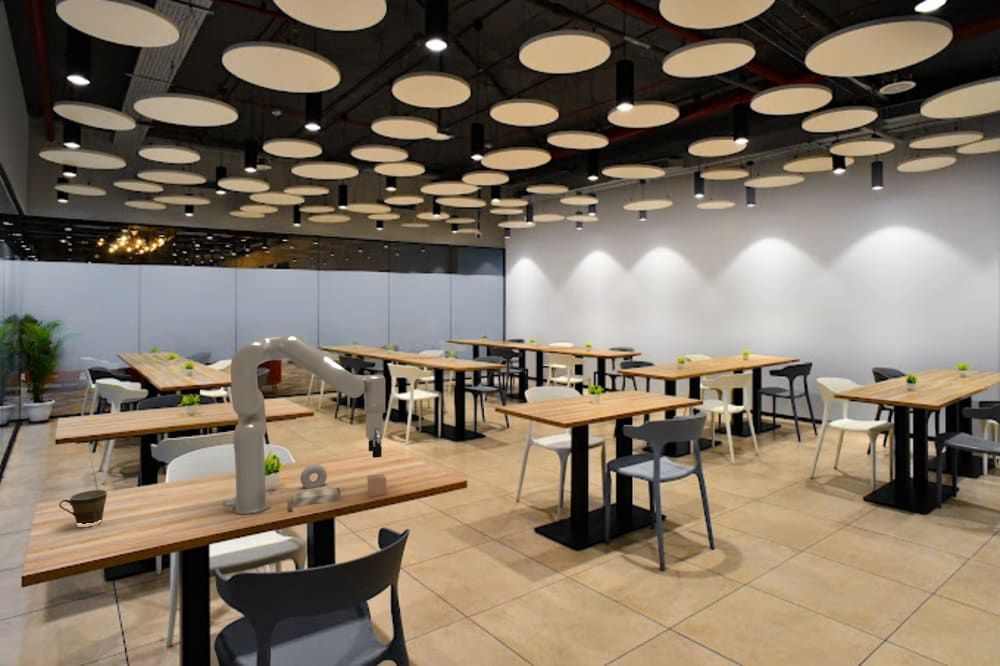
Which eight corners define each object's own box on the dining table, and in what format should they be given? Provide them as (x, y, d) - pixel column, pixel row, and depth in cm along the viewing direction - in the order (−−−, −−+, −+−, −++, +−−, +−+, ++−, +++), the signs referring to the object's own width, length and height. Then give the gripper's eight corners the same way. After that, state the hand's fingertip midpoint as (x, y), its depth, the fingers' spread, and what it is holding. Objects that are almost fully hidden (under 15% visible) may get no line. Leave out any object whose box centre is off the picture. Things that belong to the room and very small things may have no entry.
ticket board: (288, 512, 202) (287, 500, 202) (287, 503, 211) (287, 492, 211) (391, 498, 215) (391, 487, 215) (386, 491, 224) (386, 480, 224)
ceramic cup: (110, 517, 200) (108, 488, 199) (105, 526, 191) (104, 496, 190) (63, 523, 194) (62, 494, 193) (57, 534, 185) (55, 503, 184)
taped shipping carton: (370, 496, 214) (369, 480, 214) (367, 491, 219) (367, 475, 219) (386, 494, 216) (386, 478, 216) (383, 489, 222) (383, 473, 221)
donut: (301, 493, 223) (301, 467, 222) (299, 490, 226) (299, 465, 225) (328, 488, 228) (327, 463, 228) (325, 486, 231) (325, 461, 231)
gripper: (361, 405, 223) (361, 449, 224) (368, 412, 207) (368, 460, 208) (381, 404, 226) (381, 448, 226) (389, 411, 210) (389, 458, 210)
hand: (374, 454), depth 217 cm, fingers open, 9 cm apart
